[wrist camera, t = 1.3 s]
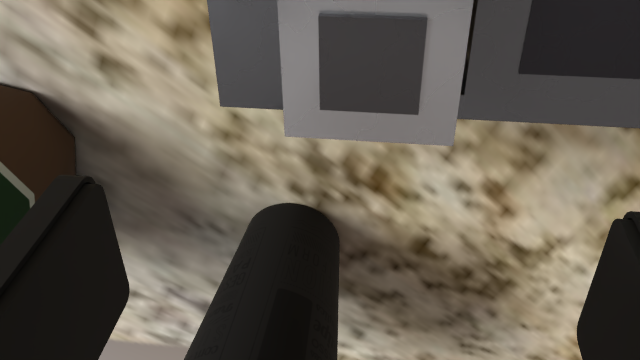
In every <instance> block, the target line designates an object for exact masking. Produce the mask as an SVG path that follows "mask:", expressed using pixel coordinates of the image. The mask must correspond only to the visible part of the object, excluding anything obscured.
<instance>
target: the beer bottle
mask: <svg viewBox="0 0 640 360" xmlns="http://www.w3.org/2000/svg"><path fill="white" fill-rule="evenodd" d="M58 175H76V166H75V137H74V136H73V135H72V134H71V133H70V132H69V131H68V130H67V129H66V128H65V127H64V126H63V125H62V124H61V123H60V122H59V120H58V119H57V118H56V117H55V116H54V115H53V114H52V113H51V112H50V111H49V110H48V109H47V108H46V107H45V106H44V105H43V104H42V103H41V102H40V101H39V100H38V98H37V97H36V96H35V95H34V94H33V93H30V92H27V91H23V90H19V89H15V88H11V87H7V86H3V85H0V245H1V244H2V243H3V241H4V240H5V239H6V238H7V236H8V235H9V234H10V233H11V232H12V230H13V229H14V228H15V227H16V225H17V224H18V223H19V222H20V220H21V219H22V218H23V217H24V216H25V214H26V213H27V212H28V211H29V209H30V208H31V207H32V206H33V205H34V203H35V202H36V201H37V200H38V198H39V197H40V196H41V195H42V194H43V192H44V191H45V190H46V189H47V187H48V186H49V185H50V184H51V183H52V181H53V180H54V179H55V178H56V177H57V176H58Z"/></svg>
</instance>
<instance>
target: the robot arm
mask: <svg viewBox="0 0 640 360" xmlns="http://www.w3.org/2000/svg"><path fill="white" fill-rule="evenodd" d="M128 297H129V282H128V279H127V275H126V271H125V267H124V264H123V260H122V256H121V252H120V249H119V245H118V241H117V237H116V234H115V230H114V226H113V223H112V219H111V215H110V211H109V208H108V204H107V200H106V196H105V193H104V190H103V187H102V186H101V185H98V184H95V181H94V180H93V179H92V177H89V176H76V175H58V176H57V177H56V178H55V179H54V180H53V181H52V183H51V184H50V185H49V186H48V187H47V189H46V190H45V191H44V192H43V194H42V195H41V196H40V197H39V198H38V200H37V201H36V202H35V203H34V205H33V206H32V207H31V208H30V209H29V211H28V212H27V213H26V214H25V216H24V217H23V218H22V219H21V220H20V222H19V223H18V224H17V225H16V227H15V228H14V229H13V230H12V232H11V233H10V234H9V235H8V236H7V238H6V239H5V240H4V241H3V243H2V244H1V245H0V360H98V359H99V356H100V355H101V353H102V351H103V349H104V347H105V345H106V343H107V341H108V339H109V337H110V335H111V333H112V331H113V329H114V327H115V325H116V323H117V321H118V319H119V317H120V315H121V314H122V312H123V310H124V308H125V306H126V303H127V301H128ZM577 340H578V345H579V348H580V352H581V356H582V359H583V360H640V212H632V211H630V212H627V213H626V214H625V216H624V218H623V219H615V220H614V221H613V223H612V225H611V228H610V231H609V234H608V237H607V240H606V243H605V246H604V248H603V251H602V254H601V257H600V260H599V263H598V266H597V269H596V272H595V275H594V277H593V280H592V283H591V286H590V289H589V292H588V295H587V298H586V301H585V304H584V306H583V309H582V312H581V315H580V318H579V321H578V325H577Z"/></svg>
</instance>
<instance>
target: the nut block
mask: <svg viewBox="0 0 640 360" xmlns="http://www.w3.org/2000/svg"><path fill="white" fill-rule="evenodd" d="M473 1H474V0H277V5H278V23H279V41H280V58H281V76H282V94H283V112H284V130H285V136H286V137H304V138H321V139H339V140H356V141H374V142H391V143H409V144H426V145H444V146H453V143H454V136H455V129H456V122H457V115H458V108H459V101H460V93H461V86H462V79H463V72H464V65H465V58H466V51H467V44H468V36H469V29H470V22H471V15H472V8H473Z"/></svg>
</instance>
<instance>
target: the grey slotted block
mask: <svg viewBox="0 0 640 360" xmlns="http://www.w3.org/2000/svg"><path fill="white" fill-rule="evenodd" d="M207 4H208V12H209V20H210V27H211V35H212V43H213V51H214V59H215V67H216V75H217V83H218V91H219V99H220V106H223V107H242V108H261V109H280V110H283V94H282V76H281V58H280V41H279V23H278V5H277V0H207ZM457 119H473V120H492V121H511V122H530V123H550V124H569V125H588V126H607V127H627V128H640V0H474V1H473V8H472V15H471V22H470V29H469V36H468V44H467V51H466V58H465V65H464V72H463V79H462V86H461V93H460V101H459V108H458V115H457Z"/></svg>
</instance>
